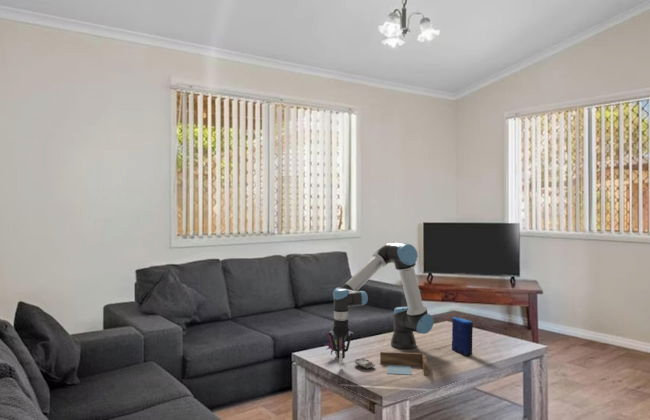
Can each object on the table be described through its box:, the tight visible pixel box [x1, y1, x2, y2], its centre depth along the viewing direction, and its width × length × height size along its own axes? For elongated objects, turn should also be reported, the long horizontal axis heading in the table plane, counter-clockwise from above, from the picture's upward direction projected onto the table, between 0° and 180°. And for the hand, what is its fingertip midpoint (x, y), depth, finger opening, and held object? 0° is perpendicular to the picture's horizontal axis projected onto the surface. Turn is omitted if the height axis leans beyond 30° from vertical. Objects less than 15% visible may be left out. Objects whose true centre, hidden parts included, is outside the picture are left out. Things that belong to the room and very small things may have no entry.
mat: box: [387, 364, 413, 376], centre depth 248 cm, size 14×12×1 cm
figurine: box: [323, 331, 347, 360], centre depth 269 cm, size 14×8×15 cm, turn 74°
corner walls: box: [379, 351, 428, 377], centre depth 250 cm, size 18×24×6 cm
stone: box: [354, 357, 376, 369], centre depth 254 cm, size 12×9×3 cm
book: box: [451, 316, 474, 356], centre depth 279 cm, size 14×5×20 cm, turn 22°
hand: (341, 364), depth 252 cm, fingers closed
